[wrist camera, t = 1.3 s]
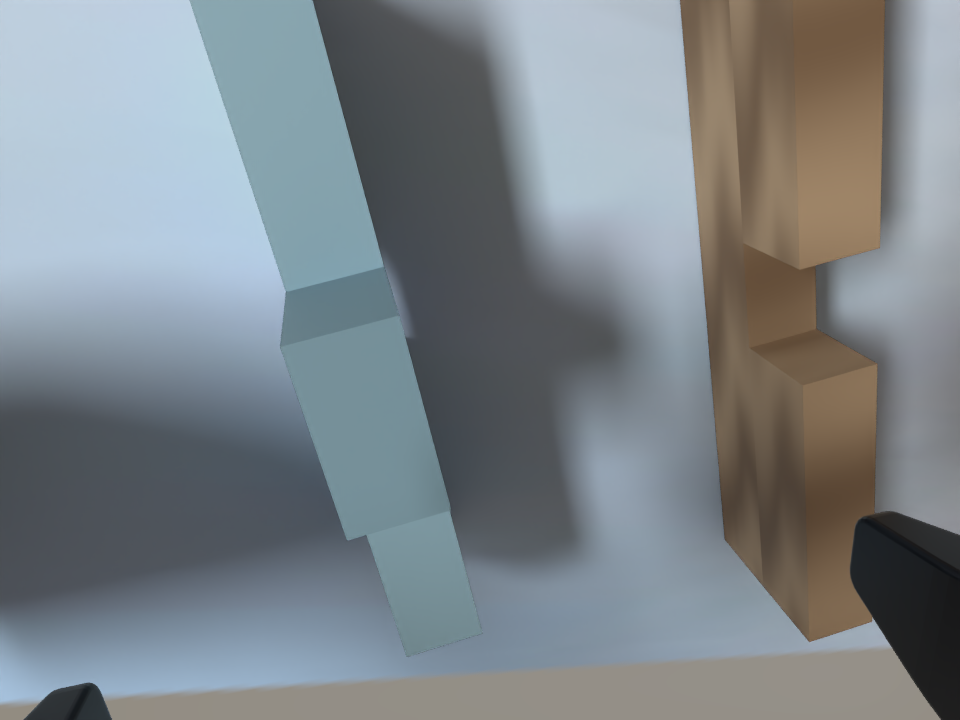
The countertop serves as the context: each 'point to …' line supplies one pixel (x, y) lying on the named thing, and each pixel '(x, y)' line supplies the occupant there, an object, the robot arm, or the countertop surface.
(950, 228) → the countertop surface
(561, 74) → the countertop surface
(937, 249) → the countertop surface
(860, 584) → the robot arm
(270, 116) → the slate-blue slotted plate
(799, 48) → the walnut slotted board
